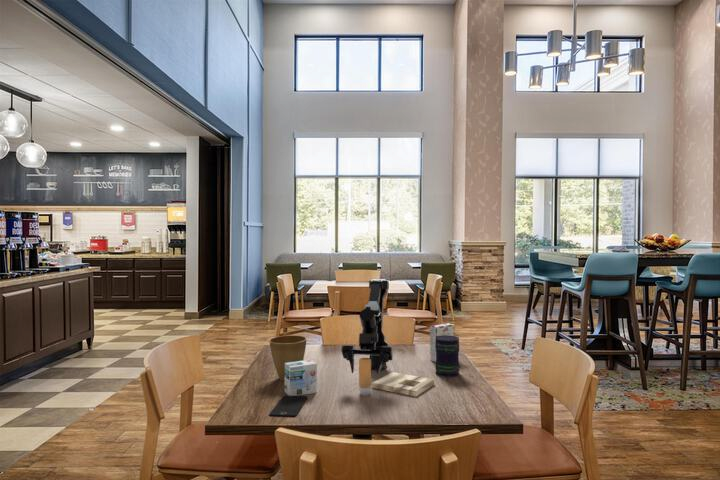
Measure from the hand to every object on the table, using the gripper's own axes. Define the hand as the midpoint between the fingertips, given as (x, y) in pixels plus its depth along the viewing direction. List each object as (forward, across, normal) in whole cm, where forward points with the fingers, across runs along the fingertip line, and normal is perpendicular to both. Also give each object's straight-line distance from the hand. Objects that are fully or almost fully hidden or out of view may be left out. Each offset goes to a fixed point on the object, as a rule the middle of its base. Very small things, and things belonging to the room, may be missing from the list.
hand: (364, 372), depth 165 cm
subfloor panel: (-3, +13, +13) cm, 19 cm away
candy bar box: (-31, +28, +42) cm, 59 cm away
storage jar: (-16, +30, +27) cm, 43 cm away
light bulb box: (+7, -24, +5) cm, 25 cm away
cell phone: (+17, -23, -5) cm, 29 cm away
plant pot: (-4, -34, +15) cm, 37 cm away
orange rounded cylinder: (+5, 0, +6) cm, 8 cm away
